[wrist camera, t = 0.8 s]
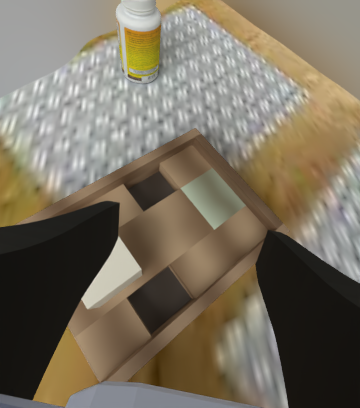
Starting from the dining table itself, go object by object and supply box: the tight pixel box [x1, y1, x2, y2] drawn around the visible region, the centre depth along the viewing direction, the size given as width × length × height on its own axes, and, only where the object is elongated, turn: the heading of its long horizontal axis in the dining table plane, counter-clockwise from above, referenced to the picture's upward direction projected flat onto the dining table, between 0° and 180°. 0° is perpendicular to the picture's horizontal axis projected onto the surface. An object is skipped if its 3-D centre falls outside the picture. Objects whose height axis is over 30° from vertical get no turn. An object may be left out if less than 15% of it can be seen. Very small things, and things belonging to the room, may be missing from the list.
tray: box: [15, 128, 290, 383], centre depth 23 cm, size 22×16×4 cm
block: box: [82, 236, 142, 309], centre depth 19 cm, size 4×4×4 cm
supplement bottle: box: [116, 0, 161, 84], centre depth 30 cm, size 6×6×10 cm
